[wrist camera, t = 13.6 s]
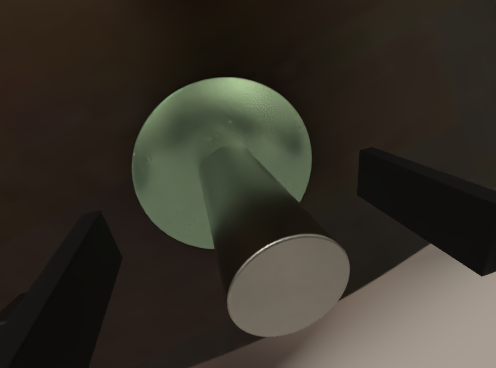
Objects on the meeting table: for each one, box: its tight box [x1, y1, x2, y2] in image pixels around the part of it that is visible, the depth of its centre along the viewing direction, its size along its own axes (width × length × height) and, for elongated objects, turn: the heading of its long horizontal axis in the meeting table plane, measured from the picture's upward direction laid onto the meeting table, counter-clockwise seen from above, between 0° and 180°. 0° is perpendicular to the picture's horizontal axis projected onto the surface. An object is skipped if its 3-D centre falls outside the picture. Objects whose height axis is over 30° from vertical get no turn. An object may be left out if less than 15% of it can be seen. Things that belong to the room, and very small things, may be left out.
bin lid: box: [132, 77, 350, 337], centre depth 12 cm, size 12×12×11 cm
